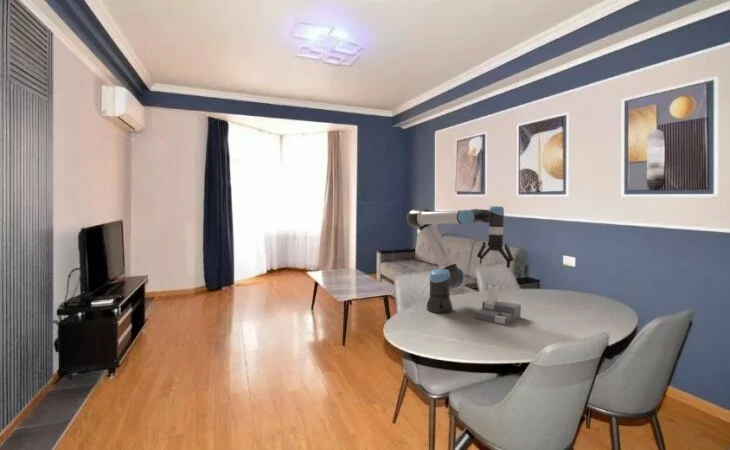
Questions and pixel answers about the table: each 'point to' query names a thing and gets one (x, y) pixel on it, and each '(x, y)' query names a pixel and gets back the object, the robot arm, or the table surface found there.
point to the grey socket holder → (499, 312)
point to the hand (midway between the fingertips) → (494, 271)
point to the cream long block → (493, 293)
